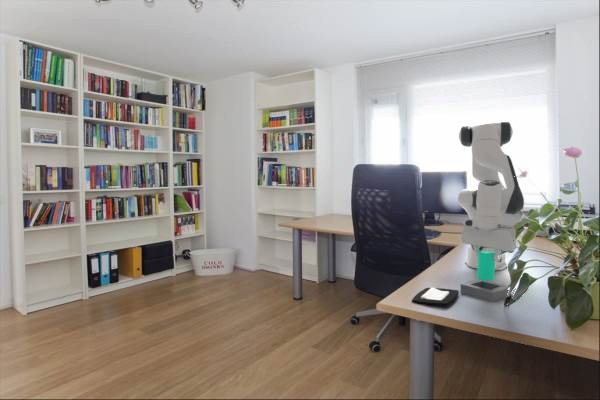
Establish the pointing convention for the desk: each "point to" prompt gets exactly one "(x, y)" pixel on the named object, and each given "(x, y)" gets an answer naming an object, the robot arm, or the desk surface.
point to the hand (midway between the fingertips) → (486, 258)
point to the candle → (486, 266)
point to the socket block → (485, 290)
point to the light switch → (436, 297)
